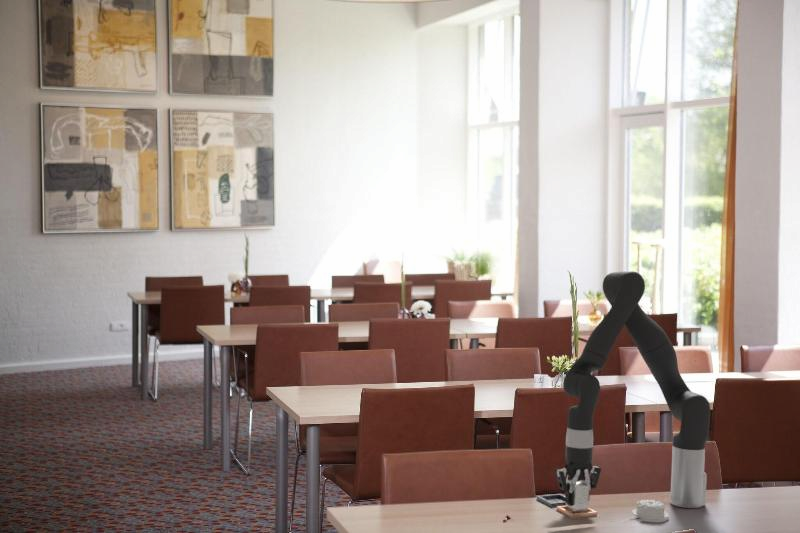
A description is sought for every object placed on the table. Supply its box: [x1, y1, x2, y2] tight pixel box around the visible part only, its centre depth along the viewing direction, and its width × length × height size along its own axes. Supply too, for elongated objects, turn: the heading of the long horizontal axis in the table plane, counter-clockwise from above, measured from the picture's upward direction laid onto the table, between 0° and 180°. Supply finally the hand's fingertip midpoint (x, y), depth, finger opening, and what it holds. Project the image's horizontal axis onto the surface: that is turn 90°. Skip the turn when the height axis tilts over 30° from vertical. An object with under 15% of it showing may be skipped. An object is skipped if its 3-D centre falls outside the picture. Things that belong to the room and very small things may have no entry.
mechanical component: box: [631, 499, 670, 523], centre depth 287 cm, size 10×4×10 cm
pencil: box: [502, 515, 510, 523], centre depth 288 cm, size 1×19×1 cm, turn 162°
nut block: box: [566, 480, 590, 514], centre depth 286 cm, size 4×4×8 cm
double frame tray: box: [535, 493, 601, 521], centre depth 291 cm, size 9×20×2 cm, turn 23°
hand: (577, 504), depth 286 cm, fingers closed on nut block, 4 cm apart
